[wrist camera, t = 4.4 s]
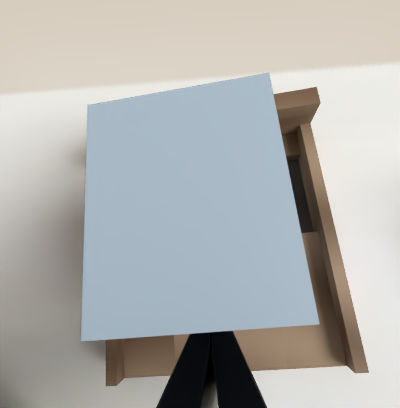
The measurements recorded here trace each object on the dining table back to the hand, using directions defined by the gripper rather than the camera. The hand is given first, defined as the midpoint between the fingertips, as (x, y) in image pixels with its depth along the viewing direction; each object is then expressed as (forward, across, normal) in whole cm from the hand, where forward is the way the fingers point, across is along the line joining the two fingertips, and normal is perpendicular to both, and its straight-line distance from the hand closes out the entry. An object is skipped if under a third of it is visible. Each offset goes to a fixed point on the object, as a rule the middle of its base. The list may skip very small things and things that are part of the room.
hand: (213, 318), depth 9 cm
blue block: (+7, 0, +2) cm, 7 cm away
